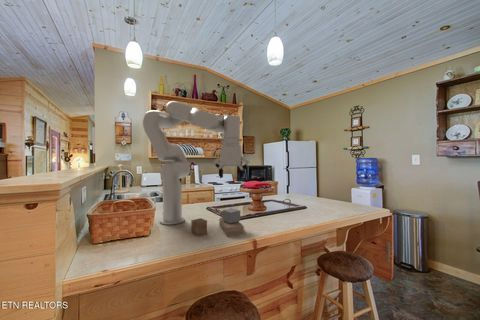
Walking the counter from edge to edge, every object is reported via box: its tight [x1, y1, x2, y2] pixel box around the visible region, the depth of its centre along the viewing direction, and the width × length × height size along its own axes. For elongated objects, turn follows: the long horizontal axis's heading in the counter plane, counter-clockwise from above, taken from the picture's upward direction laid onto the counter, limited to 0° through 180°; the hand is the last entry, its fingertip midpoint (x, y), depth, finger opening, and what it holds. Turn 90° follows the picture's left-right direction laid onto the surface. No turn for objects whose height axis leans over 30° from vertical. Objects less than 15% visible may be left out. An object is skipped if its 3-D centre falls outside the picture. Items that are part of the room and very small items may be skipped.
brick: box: [218, 216, 245, 237], centre depth 106 cm, size 17×8×5 cm, turn 17°
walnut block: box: [190, 217, 208, 237], centre depth 101 cm, size 5×5×6 cm
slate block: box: [222, 207, 241, 224], centre depth 106 cm, size 6×6×5 cm
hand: (231, 178), depth 107 cm, fingers open, 9 cm apart
